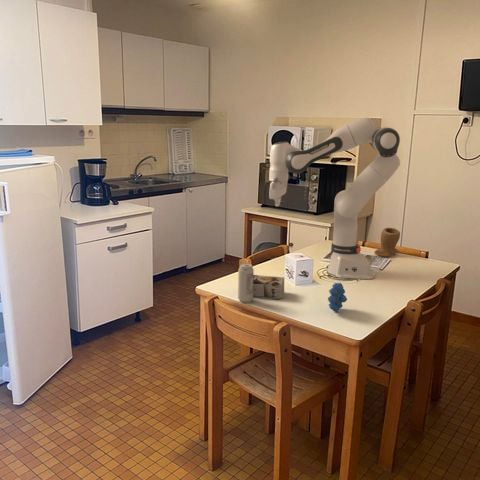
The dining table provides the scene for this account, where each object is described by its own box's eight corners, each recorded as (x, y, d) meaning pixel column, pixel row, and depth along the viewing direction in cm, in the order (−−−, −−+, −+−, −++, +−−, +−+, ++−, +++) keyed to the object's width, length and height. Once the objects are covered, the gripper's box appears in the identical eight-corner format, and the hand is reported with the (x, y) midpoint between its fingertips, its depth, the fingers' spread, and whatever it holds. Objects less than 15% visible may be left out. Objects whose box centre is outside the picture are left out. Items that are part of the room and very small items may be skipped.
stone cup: (392, 260, 253) (394, 232, 249) (371, 255, 261) (373, 228, 257) (404, 254, 264) (406, 227, 260) (383, 250, 272) (386, 224, 268)
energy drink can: (244, 296, 200) (244, 262, 196) (255, 300, 196) (256, 265, 192) (235, 300, 195) (235, 265, 191) (246, 304, 191) (247, 268, 188)
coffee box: (282, 284, 195) (243, 280, 198) (281, 298, 197) (242, 295, 200) (284, 276, 204) (247, 273, 207) (284, 290, 206) (247, 287, 209)
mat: (283, 290, 208) (283, 289, 207) (277, 300, 197) (277, 299, 196) (248, 285, 212) (248, 284, 212) (240, 295, 201) (240, 294, 201)
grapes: (339, 319, 179) (341, 288, 176) (323, 314, 183) (324, 284, 180) (352, 309, 188) (354, 280, 185) (336, 305, 192) (338, 276, 189)
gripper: (279, 179, 216) (278, 210, 219) (289, 174, 234) (288, 202, 238) (266, 179, 218) (265, 209, 221) (277, 174, 236) (276, 201, 240)
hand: (277, 205), depth 230 cm, fingers closed
